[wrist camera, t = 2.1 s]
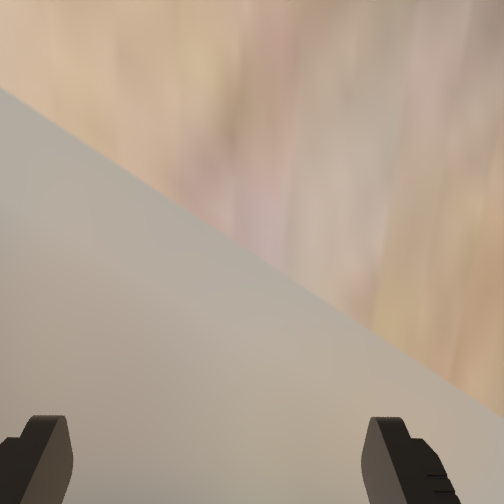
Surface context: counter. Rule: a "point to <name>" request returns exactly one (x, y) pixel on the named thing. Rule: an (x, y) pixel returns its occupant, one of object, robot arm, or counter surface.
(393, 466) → the robot arm
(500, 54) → the counter surface
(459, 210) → the counter surface
